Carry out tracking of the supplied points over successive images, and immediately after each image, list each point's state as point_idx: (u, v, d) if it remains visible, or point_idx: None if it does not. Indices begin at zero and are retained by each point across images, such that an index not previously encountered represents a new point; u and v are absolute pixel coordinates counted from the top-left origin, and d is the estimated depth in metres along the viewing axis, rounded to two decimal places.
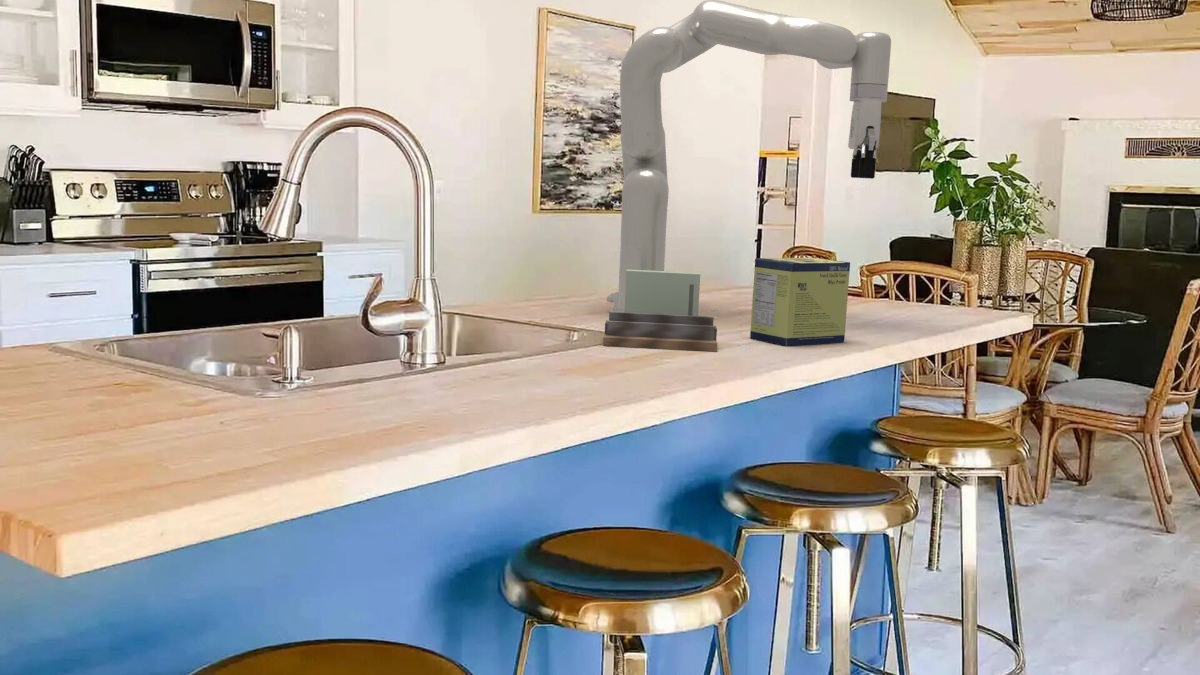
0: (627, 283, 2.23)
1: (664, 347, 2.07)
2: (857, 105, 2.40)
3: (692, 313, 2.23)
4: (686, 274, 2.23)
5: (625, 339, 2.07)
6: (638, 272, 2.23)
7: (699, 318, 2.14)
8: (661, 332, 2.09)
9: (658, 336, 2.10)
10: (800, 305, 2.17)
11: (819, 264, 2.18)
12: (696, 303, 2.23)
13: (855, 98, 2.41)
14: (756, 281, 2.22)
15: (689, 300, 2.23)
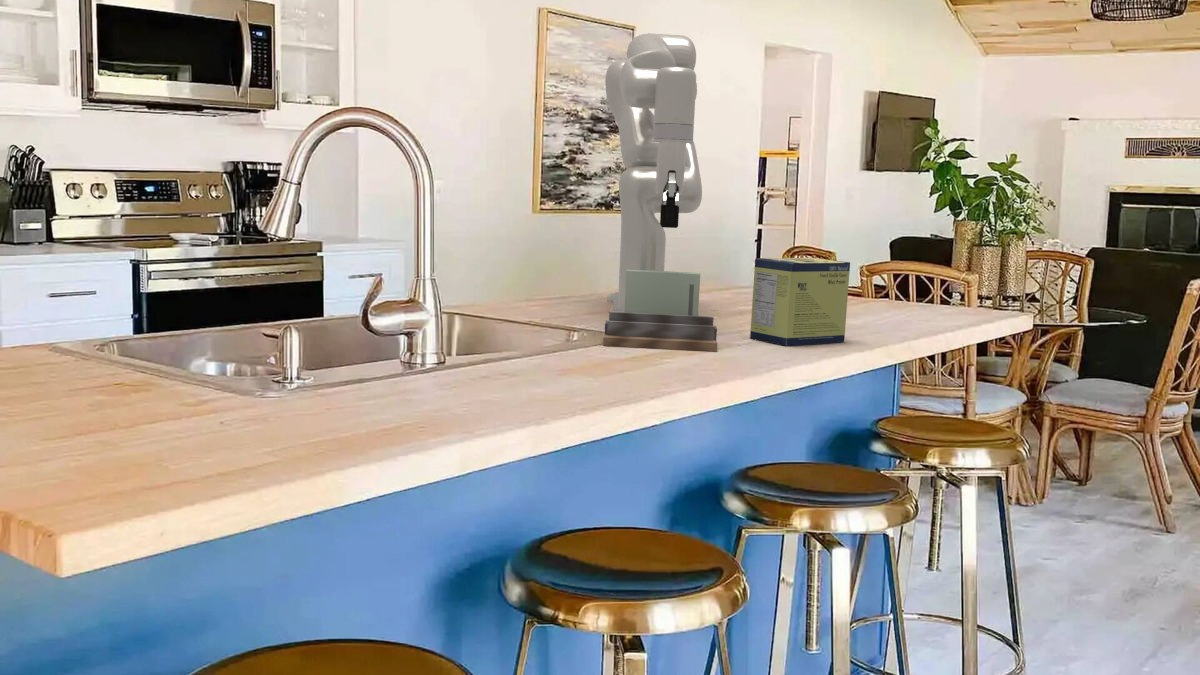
0: (627, 283, 2.23)
1: (664, 347, 2.07)
2: (659, 147, 2.18)
3: (692, 313, 2.23)
4: (686, 274, 2.23)
5: (625, 339, 2.07)
6: (638, 272, 2.23)
7: (699, 318, 2.14)
8: (661, 332, 2.09)
9: (658, 336, 2.10)
10: (800, 305, 2.17)
11: (819, 264, 2.18)
12: (696, 303, 2.23)
13: (657, 139, 2.19)
14: (756, 281, 2.22)
15: (689, 300, 2.23)
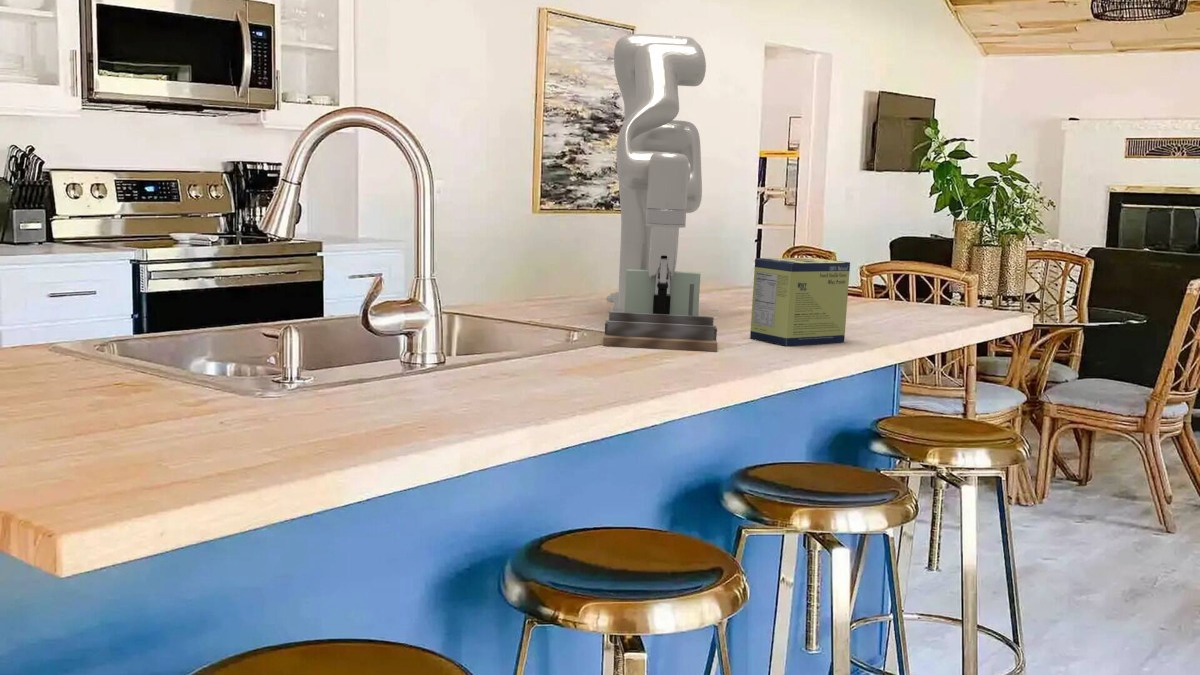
0: (627, 283, 2.23)
1: (664, 347, 2.07)
2: (651, 232, 2.20)
3: (692, 313, 2.23)
4: (686, 274, 2.22)
5: (625, 339, 2.07)
6: (638, 272, 2.23)
7: (699, 318, 2.14)
8: (661, 332, 2.09)
9: (658, 336, 2.10)
10: (800, 305, 2.17)
11: (819, 264, 2.18)
12: (696, 303, 2.23)
13: (649, 224, 2.21)
14: (756, 281, 2.22)
15: (689, 299, 2.23)
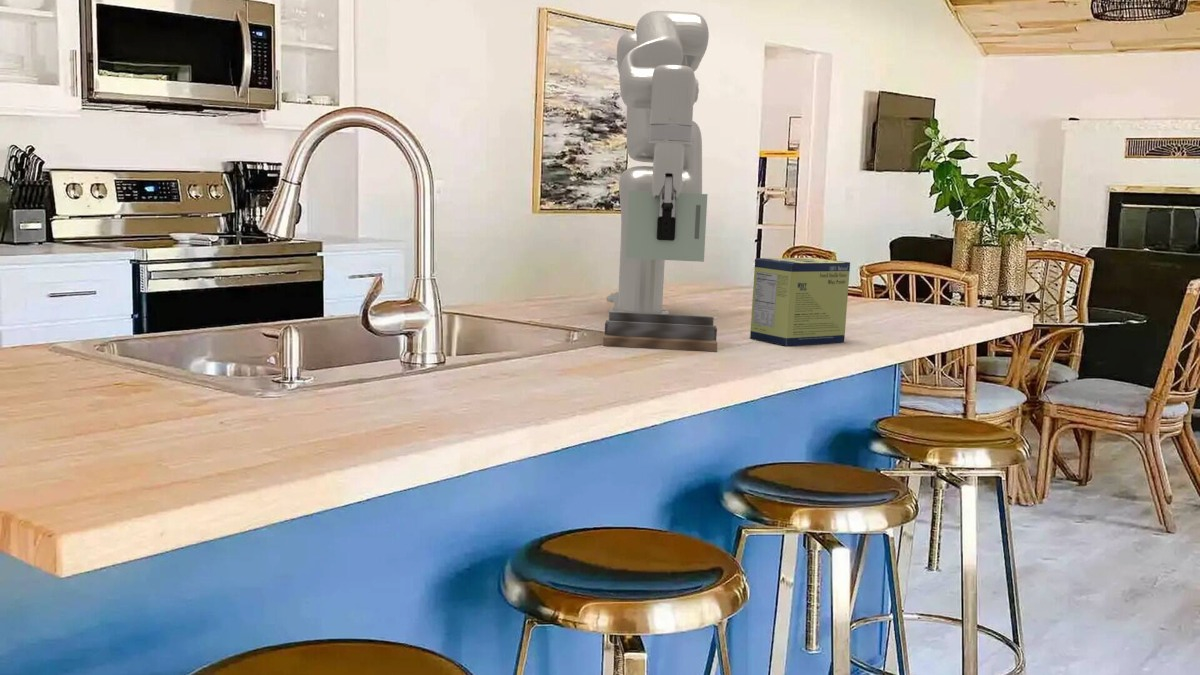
0: (630, 204, 2.10)
1: (664, 347, 2.07)
2: (655, 149, 2.07)
3: (699, 236, 2.10)
4: (692, 194, 2.09)
5: (625, 339, 2.07)
6: (641, 192, 2.09)
7: (699, 318, 2.14)
8: (661, 332, 2.09)
9: (658, 336, 2.10)
10: (800, 305, 2.17)
11: (819, 264, 2.18)
12: (703, 225, 2.10)
13: (653, 141, 2.08)
14: (756, 281, 2.22)
15: (696, 222, 2.10)
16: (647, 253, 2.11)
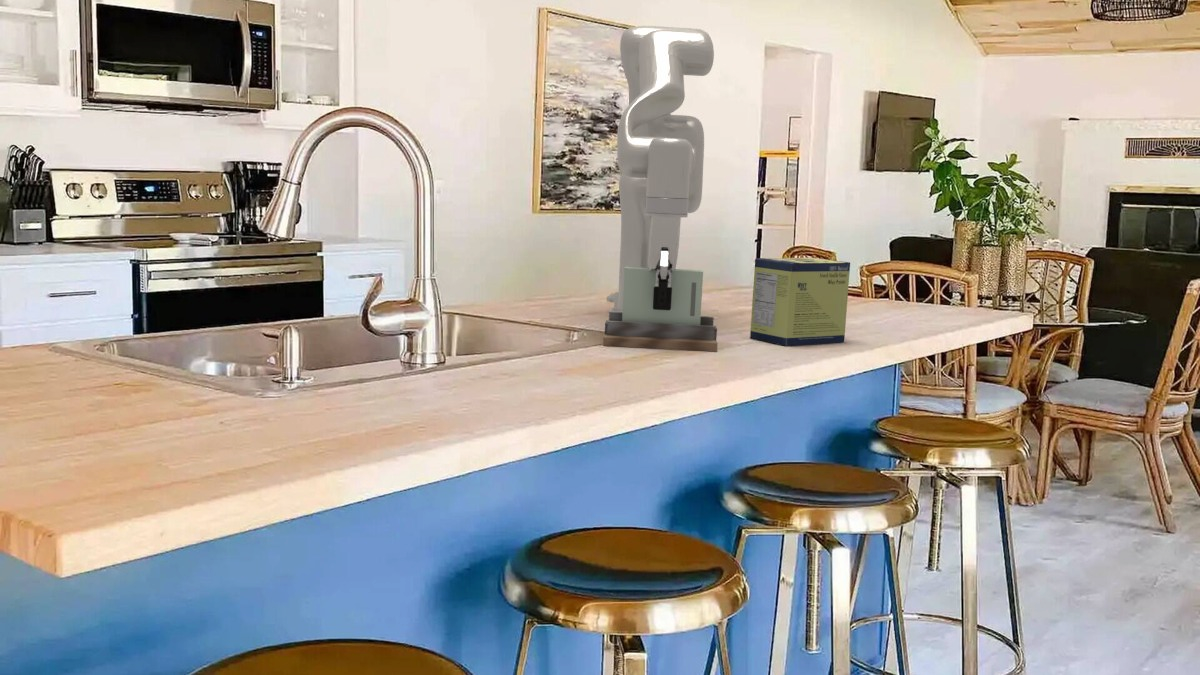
0: (625, 281, 2.10)
1: (664, 347, 2.07)
2: (651, 222, 2.07)
3: (694, 313, 2.10)
4: (688, 271, 2.10)
5: (625, 339, 2.07)
6: (637, 269, 2.10)
7: None
8: (661, 332, 2.09)
9: (658, 336, 2.10)
10: (800, 305, 2.17)
11: (819, 264, 2.18)
12: (699, 302, 2.10)
13: (649, 214, 2.07)
14: (756, 281, 2.22)
15: (691, 299, 2.10)
16: None
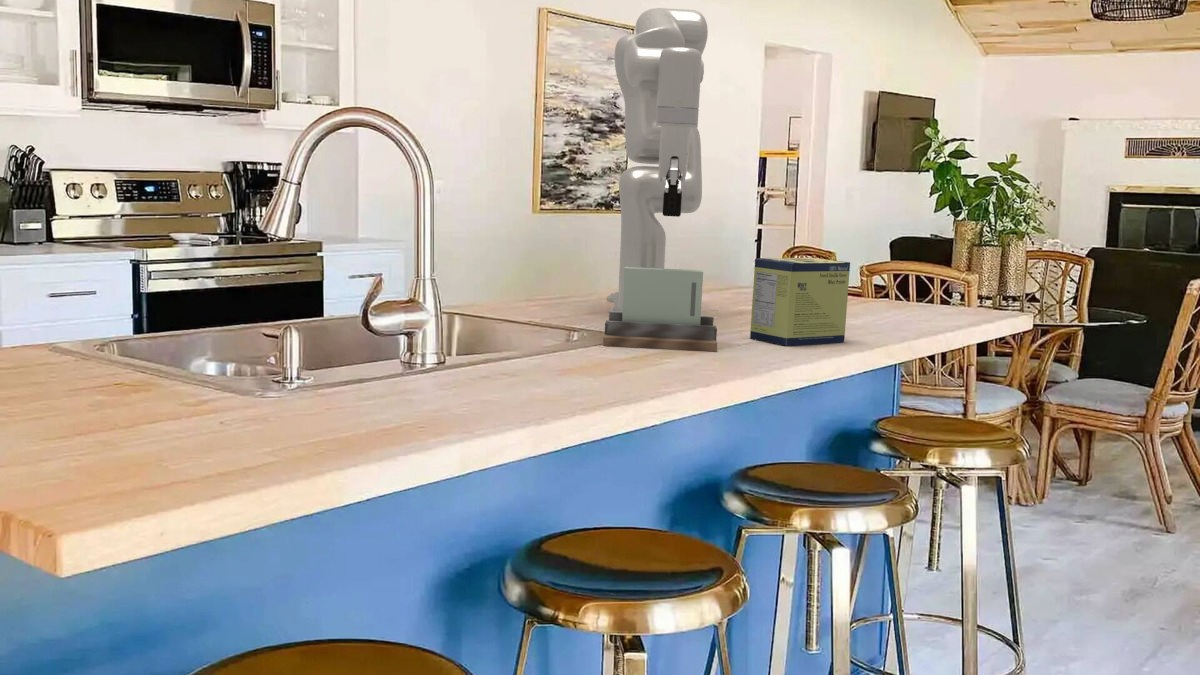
0: (625, 281, 2.10)
1: (664, 347, 2.07)
2: (661, 132, 2.09)
3: (694, 313, 2.10)
4: (688, 272, 2.10)
5: (625, 339, 2.07)
6: (637, 269, 2.10)
7: None
8: (661, 332, 2.09)
9: (658, 336, 2.10)
10: (800, 305, 2.17)
11: (819, 264, 2.18)
12: (699, 302, 2.10)
13: (660, 123, 2.09)
14: (756, 281, 2.22)
15: (691, 299, 2.10)
16: None
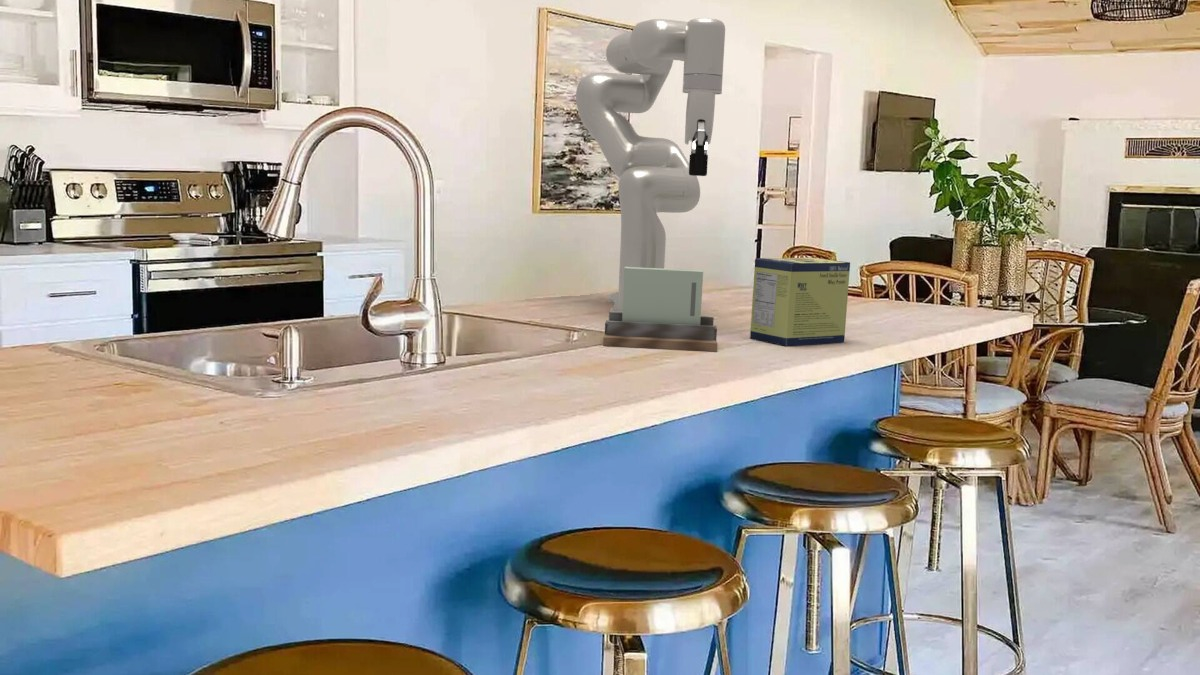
0: (625, 281, 2.10)
1: (664, 347, 2.07)
2: (688, 97, 2.23)
3: (694, 313, 2.10)
4: (688, 272, 2.10)
5: (625, 339, 2.07)
6: (637, 269, 2.10)
7: None
8: (661, 332, 2.09)
9: (658, 336, 2.10)
10: (800, 305, 2.17)
11: (819, 264, 2.18)
12: (699, 302, 2.10)
13: (686, 89, 2.24)
14: (756, 281, 2.22)
15: (691, 299, 2.10)
16: None
